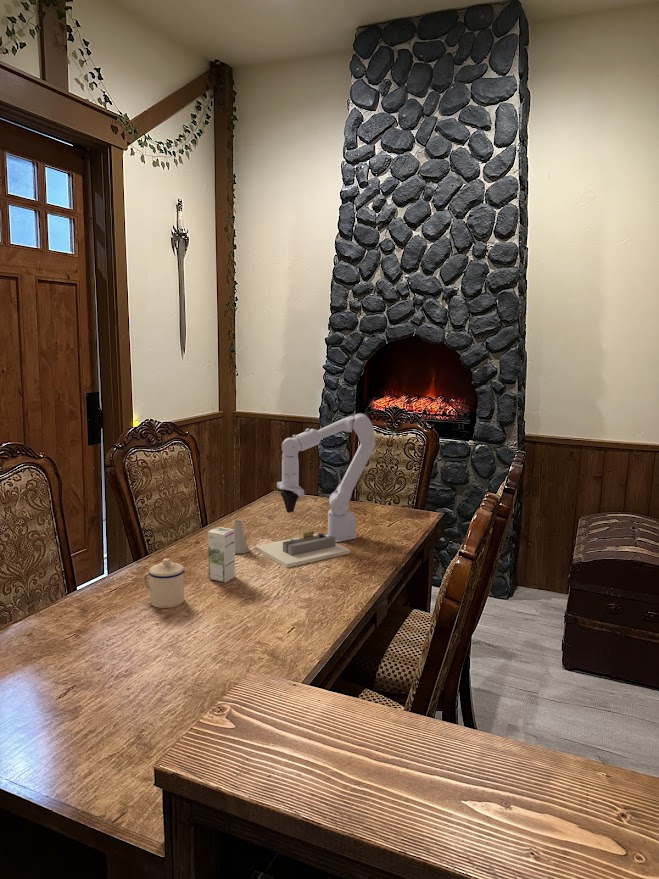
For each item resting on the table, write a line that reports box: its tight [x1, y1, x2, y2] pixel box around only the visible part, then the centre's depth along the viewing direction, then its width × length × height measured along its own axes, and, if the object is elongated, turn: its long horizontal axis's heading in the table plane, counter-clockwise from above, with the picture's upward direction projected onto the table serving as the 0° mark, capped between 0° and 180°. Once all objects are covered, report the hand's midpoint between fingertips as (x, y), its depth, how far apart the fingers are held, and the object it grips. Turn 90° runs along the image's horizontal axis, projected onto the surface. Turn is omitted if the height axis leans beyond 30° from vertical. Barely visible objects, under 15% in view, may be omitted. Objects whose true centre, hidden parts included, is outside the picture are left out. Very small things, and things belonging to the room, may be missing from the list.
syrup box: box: [207, 526, 236, 584], centre depth 184 cm, size 6×6×14 cm
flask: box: [232, 519, 250, 555], centre depth 208 cm, size 7×7×10 cm
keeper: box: [298, 529, 315, 539], centre depth 212 cm, size 4×2×4 cm, turn 125°
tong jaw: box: [283, 532, 326, 553], centre depth 208 cm, size 15×2×4 cm, turn 125°
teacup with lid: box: [141, 558, 186, 609], centre depth 168 cm, size 12×9×12 cm
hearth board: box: [254, 533, 351, 569], centre depth 208 cm, size 24×20×4 cm
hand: (290, 511), depth 221 cm, fingers closed
